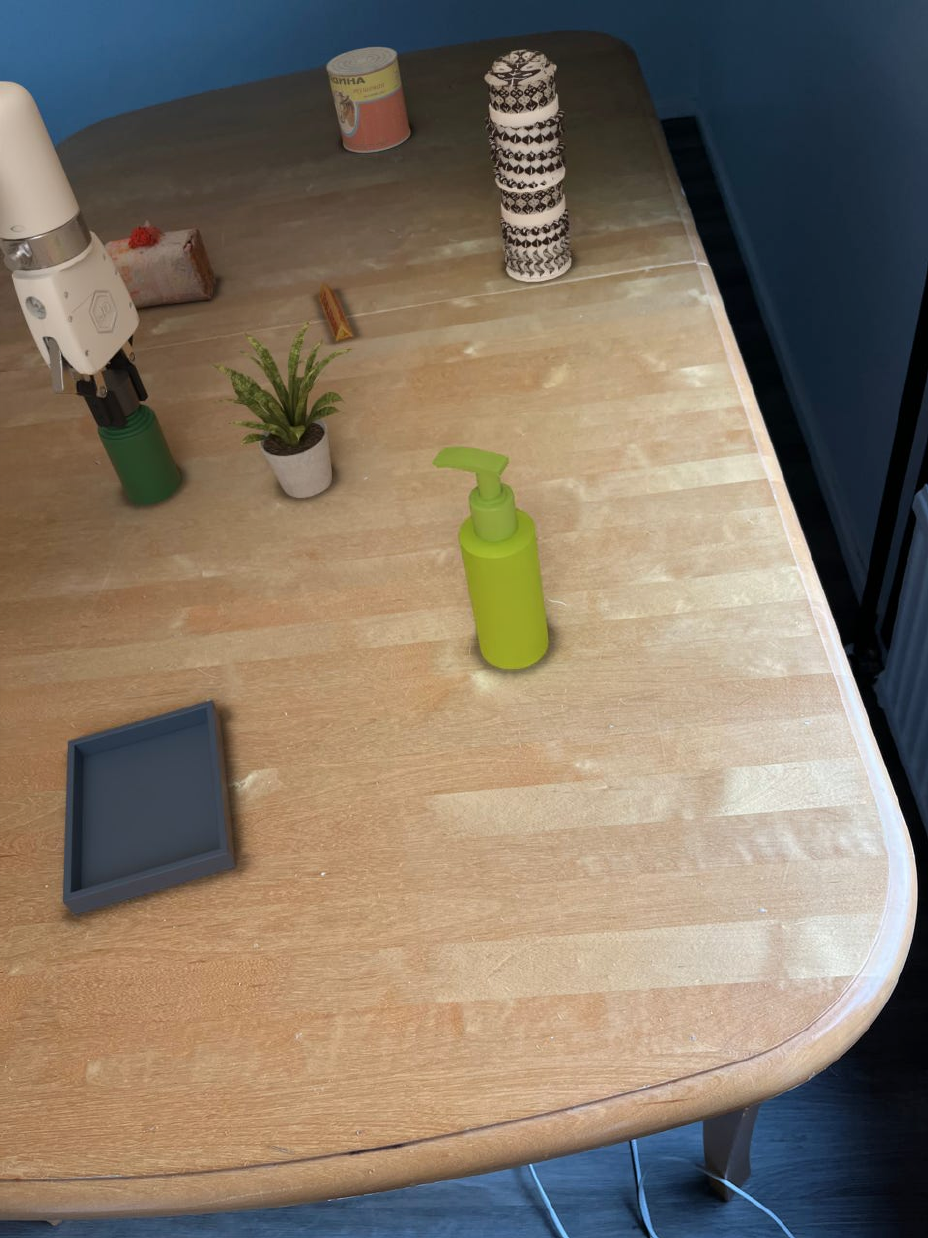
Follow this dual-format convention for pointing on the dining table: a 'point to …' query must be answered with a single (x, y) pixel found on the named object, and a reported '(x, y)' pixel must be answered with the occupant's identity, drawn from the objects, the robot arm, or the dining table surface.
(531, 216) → the decorative candle
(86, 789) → the tray
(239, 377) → the house plant
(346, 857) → the dining table surface
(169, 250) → the food item
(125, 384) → the cap
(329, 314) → the chocolate bar
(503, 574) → the soap dispenser
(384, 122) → the canned food
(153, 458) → the bottle
